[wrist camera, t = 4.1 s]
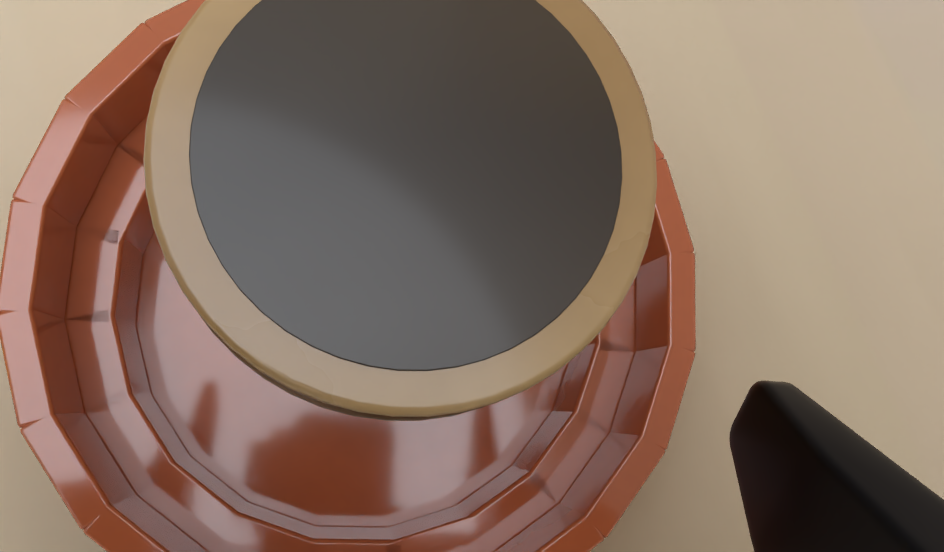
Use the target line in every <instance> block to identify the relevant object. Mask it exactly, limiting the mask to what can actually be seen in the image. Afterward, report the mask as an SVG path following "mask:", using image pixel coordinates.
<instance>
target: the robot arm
mask: <svg viewBox="0 0 944 552" xmlns="http://www.w3.org/2000/svg"><path fill="white" fill-rule="evenodd" d="M730 447H731V452H732V456H733V460H734V465H735V469H736V474H737V478H738V483H739V487H740V492H741V496H742V500H743V505H744V509H745V514H746V518H747V523H748V527H749V532H750V536H751V540H752V544H753V548H754V552H944V500H943V499H942V498H940V497H939V496H938V495H937V494H935V493H934V492H933V491H931V490H930V489H929V488H927V487H926V486H925V485H923V484H922V483H921V482H920V481H918V480H917V479H916V478H914V477H913V476H912V475H910V474H909V473H908V472H906V471H905V470H904V469H902V468H901V467H900V466H899V465H897V464H896V463H895V462H893V461H892V460H891V459H889V458H888V457H887V456H885V455H884V454H883V453H882V452H880V451H879V450H878V449H876V448H875V447H874V446H872V445H871V444H870V443H868V442H867V441H866V440H864V439H863V438H862V437H861V436H859V435H858V434H857V433H855V432H854V431H853V430H851V429H850V428H849V427H847V426H846V425H845V424H844V423H842V422H841V421H840V420H838V419H837V418H836V417H834V416H833V415H832V414H830V413H829V412H828V411H826V410H825V409H824V408H823V407H821V406H820V405H819V404H817V403H816V402H815V401H813V400H812V399H811V398H809V397H808V396H807V395H806V394H804V393H803V392H802V391H800V390H799V389H798V388H796V387H795V386H794V385H792V384H790V383H786V382H775V381H759V382H756V383H755V384H754V385H753V386H752V387H751V388H750V390H749V392H748V394H747V396H746V398H745V400H744V402H743V404H742V406H741V408H740V410H739V412H738V414H737V416H736V418H735V420H734V422H733V424H732V427H731V431H730Z"/></svg>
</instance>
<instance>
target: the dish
mask: <svg viewBox="0 0 944 552" xmlns="http://www.w3.org/2000/svg"><path fill="white" fill-rule="evenodd" d="M204 1H205V0H187V1H185V2H183V3H180V4H178V5H176V6H174V7H172V8H170V9H168V10H166V11H164V12H162V13H160V14H158V15H156V16H154V17H152V18H150V19H148V20H146V21H145V23H141V24H140V25H139V26H138V27H137V28H136V29H135V30H133V31H132V32H131V33H130V34H129V35H128V36H127V37H126V38H125V39H124V40H123V41H122V42H121V43H120V44H119V45H118V46H117V47H116V48H115V49H114V50H113V51H112V52H111V53H109V54H108V55H107V56H106V57H105V58H104V59H103V60H102V61H101V62H100V63H99V64H98V65H97V66H96V67H95V68H94V69H93V70H92V71H91V72H90V73H89V74H88V75H87V76H86V77H84V78H83V79H82V80H81V81H80V82H79V83H78V84H77V85H76V86H75V87H74V88H73V89H72V90H71V91H70V92H69V93H68V94H67V95H66V96H65V99H66V100H65V99H63V100H62V102H61V104H60V106H59V108H58V110H57V111H56V113H55V115H54V117H53V119H52V121H51V123H50V125H49V127H48V129H47V131H46V132H45V134H44V136H43V138H42V140H41V142H40V144H39V146H38V148H37V150H36V152H35V154H34V155H33V157H32V159H31V161H30V163H29V165H28V167H27V169H26V171H25V173H24V175H23V177H22V178H21V180H20V182H19V184H18V186H17V188H16V190H15V192H14V194H13V200H12V201H11V204H10V211H9V218H8V225H7V232H6V239H5V246H4V253H3V260H2V267H1V273H0V341H1V346H2V351H3V356H4V360H5V365H6V370H7V375H8V380H9V385H10V390H11V394H12V399H13V404H14V409H15V414H16V419H17V423H18V426H19V427H20V428H21V434H22V435H23V437H24V439H25V440H26V442H27V443H28V445H29V447H30V448H31V450H32V452H33V453H34V455H35V456H36V458H37V460H38V461H39V463H40V465H41V466H42V468H43V469H44V471H45V473H46V474H47V476H48V477H49V479H50V481H51V482H52V484H53V486H54V487H55V489H56V490H57V492H58V494H59V495H60V497H61V498H62V500H63V502H64V503H65V505H66V507H67V508H68V510H69V511H70V513H71V515H72V516H73V518H74V519H75V521H76V523H77V524H78V526H79V528H81V529H82V530H83V529H84V531H83V532H84V534H85V535H87V536H88V537H89V538H90V539H92V540H93V541H94V542H96V543H97V544H98V545H99V546H101V547H102V548H103V549H104V550H106V551H107V552H589V551H590V550H592V549H593V548H594V547H596V546H597V545H598V544H599V543H601V542H602V541H603V540H604V537H605V538H606V537H607V536H608V535H609V534H610V532H611V531H612V529H613V528H614V526H615V525H616V523H617V522H618V520H619V519H620V518H621V516H622V515H623V513H624V512H625V510H626V509H627V507H628V506H629V504H630V503H631V501H632V500H633V499H634V497H635V496H636V494H637V493H638V491H639V490H640V488H641V487H642V485H643V484H644V482H645V481H646V480H647V478H648V477H649V475H650V474H651V472H652V471H653V469H654V468H655V466H656V465H657V463H658V462H659V461H660V459H661V458H662V456H663V455H664V453H665V450H666V449H667V446H668V443H669V439H670V436H671V433H672V429H673V426H674V423H675V420H676V416H677V413H678V410H679V406H680V403H681V400H682V396H683V393H684V390H685V386H686V383H687V380H688V376H689V373H690V370H691V366H692V363H693V360H694V356H695V353H694V351H695V254H694V253H693V251H694V248H693V245H692V241H691V238H690V235H689V232H688V228H687V225H686V222H685V219H684V216H683V212H682V209H681V206H680V203H679V200H678V196H677V193H676V190H675V187H674V183H673V180H672V177H671V174H670V171H669V167H668V164H667V161H666V159H663V158H664V155H663V153H662V152H661V150H660V149H659V147H658V146H657V144H656V143H655V141H654V145H655V151H656V171H657V190H656V201H655V212H654V219H653V224H652V228H651V232H650V237H649V241H648V246H647V249H646V251H645V254H644V257H643V260H642V262H641V265H640V268H639V270H638V273H637V276H636V278H635V279H634V281H633V283H632V285H631V287H630V289H629V291H628V293H627V295H626V296H625V298H624V300H623V302H622V304H621V305H620V307H619V308H618V309H617V311H616V312H615V313H614V315H613V316H612V318H611V319H610V320H609V322H608V323H607V325H606V326H605V327H604V329H603V330H602V331H601V332H600V333H599V334H598V335H597V336H596V337H595V338H594V339H593V340H592V341H591V343H590V344H589V345H588V346H587V347H586V348H585V349H584V350H583V351H582V352H581V353H580V354H578V355H577V356H576V357H575V358H573V359H572V360H571V361H570V362H568V363H567V364H566V365H565V366H563V367H562V368H561V369H560V370H558V371H557V372H556V373H554V374H553V375H551V376H549V377H548V378H546V379H544V380H543V381H541V382H539V383H538V384H536V385H534V386H533V387H531V388H529V389H528V390H525V391H523V392H521V393H518V394H516V395H514V396H511V397H509V398H507V399H504V400H502V401H500V402H497V403H494V404H491V405H488V406H485V407H483V408H480V409H476V410H473V411H469V412H465V413H462V414H458V415H454V416H450V417H443V418H435V419H428V420H421V421H386V420H378V419H371V418H363V417H355V416H351V415H347V414H344V413H340V412H336V411H333V410H329V409H325V408H322V407H319V406H317V405H315V404H312V403H310V402H307V401H305V400H303V399H300V398H298V397H296V396H293V395H291V394H289V393H288V392H286V391H284V390H282V389H281V388H279V387H277V386H276V385H274V384H272V383H270V382H269V381H267V380H265V379H264V378H262V377H261V376H259V375H258V374H257V373H256V372H254V371H253V370H252V369H251V368H249V367H248V366H247V365H245V364H244V363H243V362H242V361H240V360H239V359H238V358H237V357H235V356H234V355H233V353H232V352H231V351H230V350H229V349H228V348H227V347H226V346H225V345H224V344H223V343H222V342H221V341H220V340H219V339H218V338H217V337H216V336H215V335H214V334H213V333H212V332H211V330H210V329H209V327H208V326H207V325H206V323H205V322H204V321H203V319H202V318H201V317H200V315H199V314H198V312H197V311H196V310H195V308H194V307H193V306H192V304H191V303H190V302H189V300H188V299H187V298H186V296H185V295H184V293H183V292H182V290H181V288H180V286H179V285H178V283H177V281H176V279H175V277H174V275H173V273H172V272H171V270H170V268H169V266H168V264H167V262H166V260H165V258H164V255H163V252H162V250H161V247H160V244H159V242H158V239H157V236H156V233H155V231H154V228H153V224H152V219H151V215H150V210H149V205H148V201H147V196H146V188H145V174H144V160H143V158H144V144H145V130H146V122H147V118H148V113H149V108H150V104H151V99H152V95H153V91H154V88H155V86H156V83H157V80H158V78H159V75H160V72H161V70H162V67H163V64H164V62H165V60H166V58H167V56H168V54H169V52H170V51H171V49H172V47H173V45H174V43H175V41H176V40H177V38H178V36H179V34H180V32H181V31H182V29H183V28H184V27H185V25H186V24H187V23H188V22H189V20H190V19H191V18H192V16H193V15H194V14H195V12H196V11H197V10H198V8H199V7H200V6H201V4H202V3H203V2H204Z"/></svg>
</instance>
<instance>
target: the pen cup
mask: <svg viewBox="0 0 944 552" xmlns="http://www.w3.org/2000/svg"><path fill="white" fill-rule="evenodd" d="M143 160H144V174H145V188H146V196H147V201H148V205H149V210H150V215H151V219H152V224H153V228H154V231H155V233H156V236H157V239H158V242H159V244H160V247H161V250H162V252H163V255H164V258H165V260H166V262H167V264H168V266H169V268H170V270H171V272H172V273H173V275H174V277H175V279H176V281H177V283H178V285H179V286H180V288H181V290H182V292H183V293H184V295H185V296H186V298H187V299H188V300H189V302H190V303H191V304H192V306H193V307H194V308H195V310H196V311H197V312H198V314H199V315H200V317H201V318H202V319H203V321H204V322H205V323H206V325H207V326H208V327H209V329H210V330H211V332H212V333H213V334H214V335H215V336H216V337H217V338H218V339H219V340H220V341H221V342H222V343H223V344H224V345H225V346H226V347H227V348H228V349H229V350H230V351H231V352H232V353H233V355H234V356H235V357H237V358H238V359H239V360H240V361H242V362H243V363H244V364H245V365H247V366H248V367H249V368H251V369H252V370H253V371H254V372H256V373H257V374H258V375H259V376H261V377H262V378H264V379H265V380H267V381H269V382H270V383H272V384H274V385H276V386H277V387H279V388H281V389H282V390H284V391H286V392H288V393H289V394H291V395H293V396H296V397H298V398H300V399H303V400H305V401H307V402H310V403H312V404H315V405H317V406H319V407H322V408H325V409H329V410H333V411H336V412H340V413H344V414H347V415H351V416H355V417H363V418H371V419H378V420H386V421H421V420H428V419H435V418H443V417H450V416H454V415H458V414H462V413H465V412H469V411H473V410H476V409H480V408H483V407H485V406H488V405H491V404H494V403H497V402H500V401H502V400H504V399H507V398H509V397H511V396H514V395H516V394H518V393H521V392H523V391H525V390H528V389H529V388H531V387H533V386H534V385H536V384H538V383H539V382H541V381H543V380H544V379H546V378H548V377H549V376H551V375H553V374H554V373H556V372H557V371H558V370H560V369H561V368H562V367H563V366H565V365H566V364H567V363H568V362H570V361H571V360H572V359H573V358H575V357H576V356H577V355H578V354H580V353H581V352H582V351H583V350H584V349H585V348H586V347H587V346H588V345H589V344H590V343H591V341H592V340H593V339H594V338H595V337H596V336H597V335H598V334H599V333H600V332H601V331H602V330H603V329H604V327H605V326H606V325H607V323H608V322H609V320H610V319H611V318H612V316H613V315H614V313H615V312H616V311H617V309H618V308H619V307H620V305H621V304H622V302H623V300H624V298H625V296H626V295H627V293H628V291H629V289H630V287H631V285H632V283H633V281H634V279H635V278H636V276H637V273H638V270H639V268H640V265H641V262H642V260H643V257H644V254H645V251H646V249H647V246H648V241H649V237H650V232H651V228H652V224H653V219H654V212H655V201H656V190H657V171H656V151H655V145H654V139H653V133H652V127H651V122H650V119H649V115H648V112H647V108H646V105H645V102H644V98H643V95H642V92H641V90H640V88H639V85H638V83H637V81H636V79H635V76H634V74H633V72H632V69H631V67H630V65H629V63H628V62H627V60H626V58H625V56H624V55H623V53H622V51H621V50H620V48H619V46H618V45H617V43H616V41H615V39H614V38H613V37H612V35H611V34H610V33H609V31H608V30H607V29H606V27H605V26H604V25H603V24H602V22H601V21H600V20H599V18H598V17H597V16H596V14H595V13H594V12H593V11H592V10H591V9H590V8H589V7H588V6H587V5H586V4H585V3H584V2H583V1H582V0H205V1H204V2H203V3H202V4H201V6H200V7H199V8H198V10H197V11H196V12H195V14H194V15H193V16H192V18H191V19H190V20H189V22H188V23H187V24H186V25H185V27H184V28H183V29H182V31H181V32H180V34H179V36H178V38H177V40H176V41H175V43H174V45H173V47H172V49H171V51H170V52H169V54H168V56H167V58H166V60H165V62H164V64H163V67H162V70H161V72H160V75H159V78H158V80H157V83H156V86H155V88H154V91H153V95H152V99H151V104H150V108H149V113H148V118H147V122H146V130H145V144H144V158H143Z"/></svg>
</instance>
